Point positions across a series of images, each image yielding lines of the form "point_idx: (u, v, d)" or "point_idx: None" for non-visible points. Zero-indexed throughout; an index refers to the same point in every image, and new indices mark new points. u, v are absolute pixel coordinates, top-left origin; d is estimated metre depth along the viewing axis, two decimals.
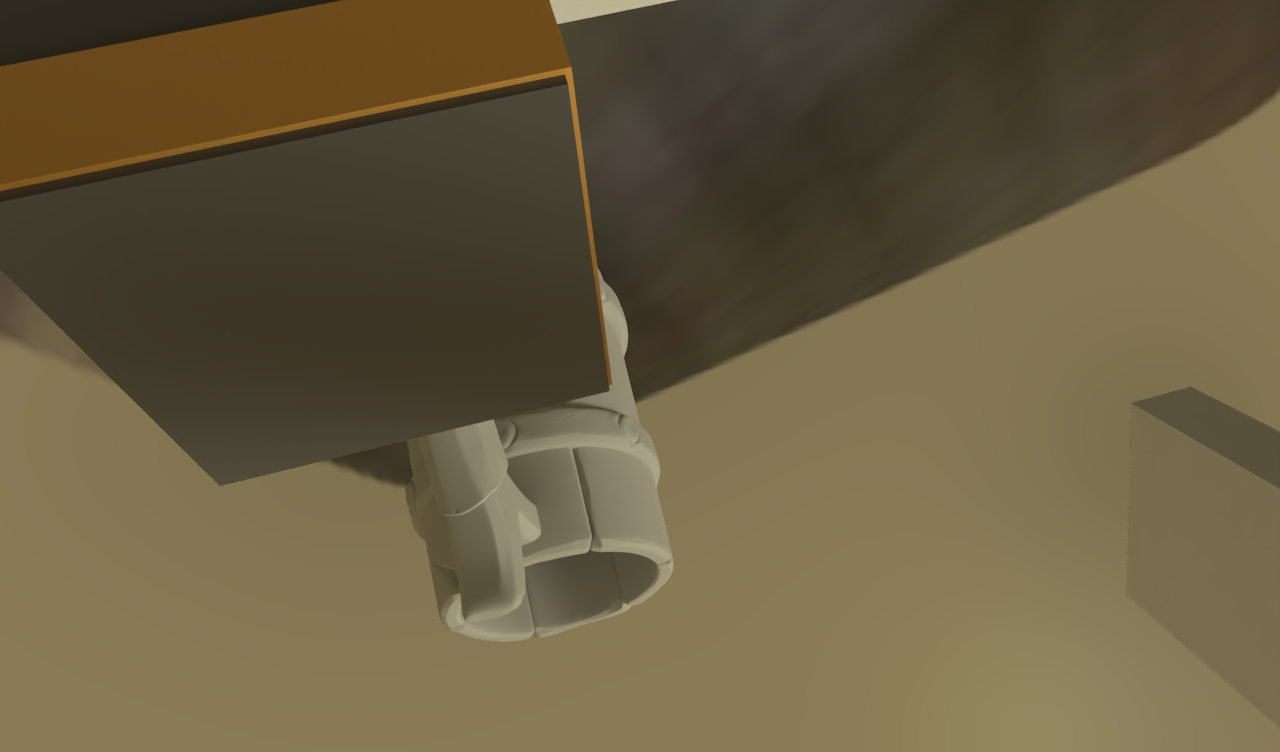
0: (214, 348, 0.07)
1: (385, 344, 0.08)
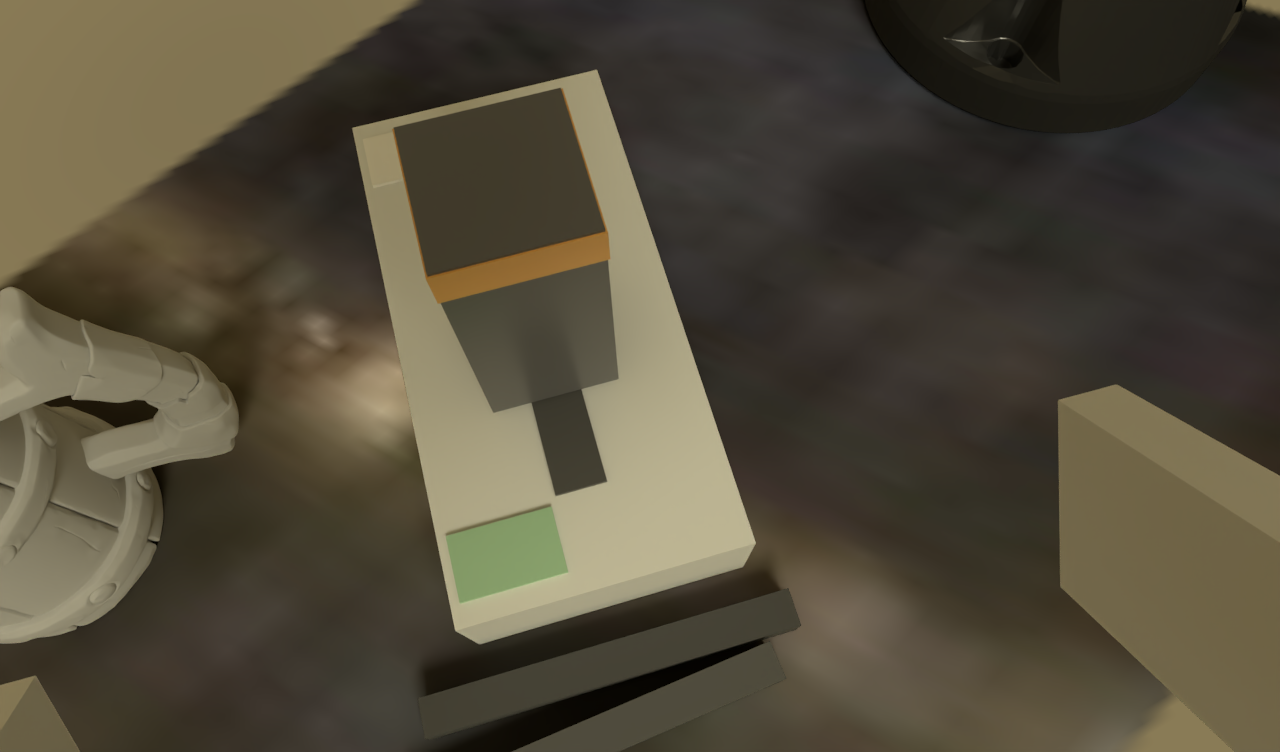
0: (490, 135, 0.21)
1: (482, 185, 0.21)
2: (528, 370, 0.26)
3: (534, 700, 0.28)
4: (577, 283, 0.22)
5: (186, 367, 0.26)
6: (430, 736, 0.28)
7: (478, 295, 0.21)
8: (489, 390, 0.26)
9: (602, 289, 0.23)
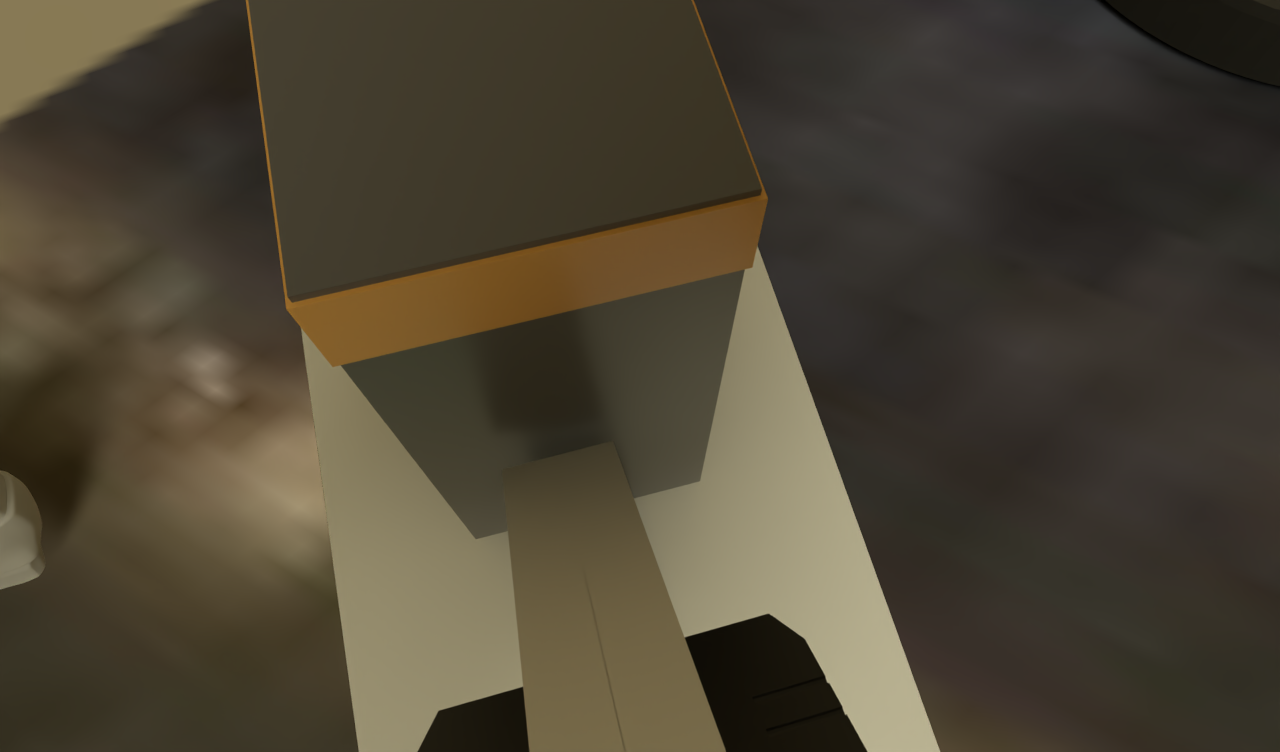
0: None
1: (447, 74, 0.08)
2: None
3: None
4: (666, 322, 0.10)
5: None
6: None
7: (434, 348, 0.09)
8: (467, 510, 0.14)
9: (714, 334, 0.10)
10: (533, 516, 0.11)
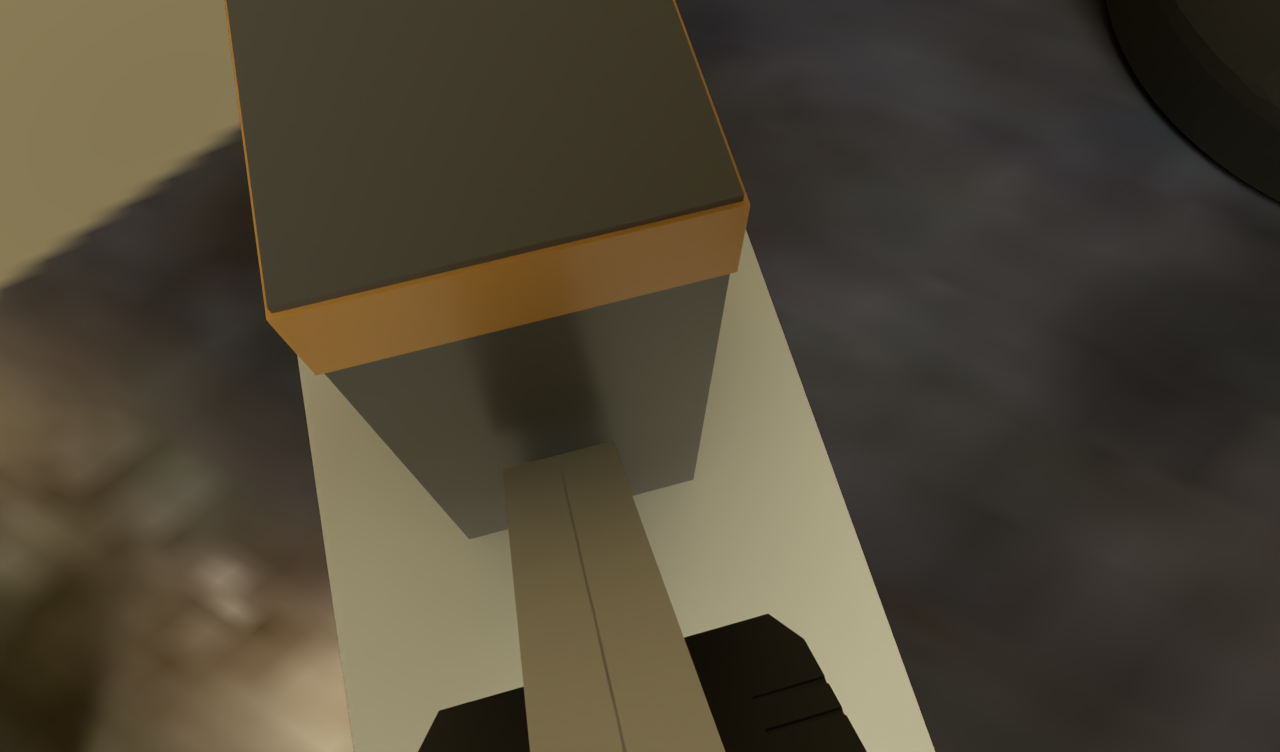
0: None
1: (428, 80, 0.08)
2: None
3: None
4: (652, 325, 0.10)
5: None
6: None
7: (418, 355, 0.09)
8: (459, 511, 0.14)
9: (701, 336, 0.10)
10: (534, 516, 0.11)
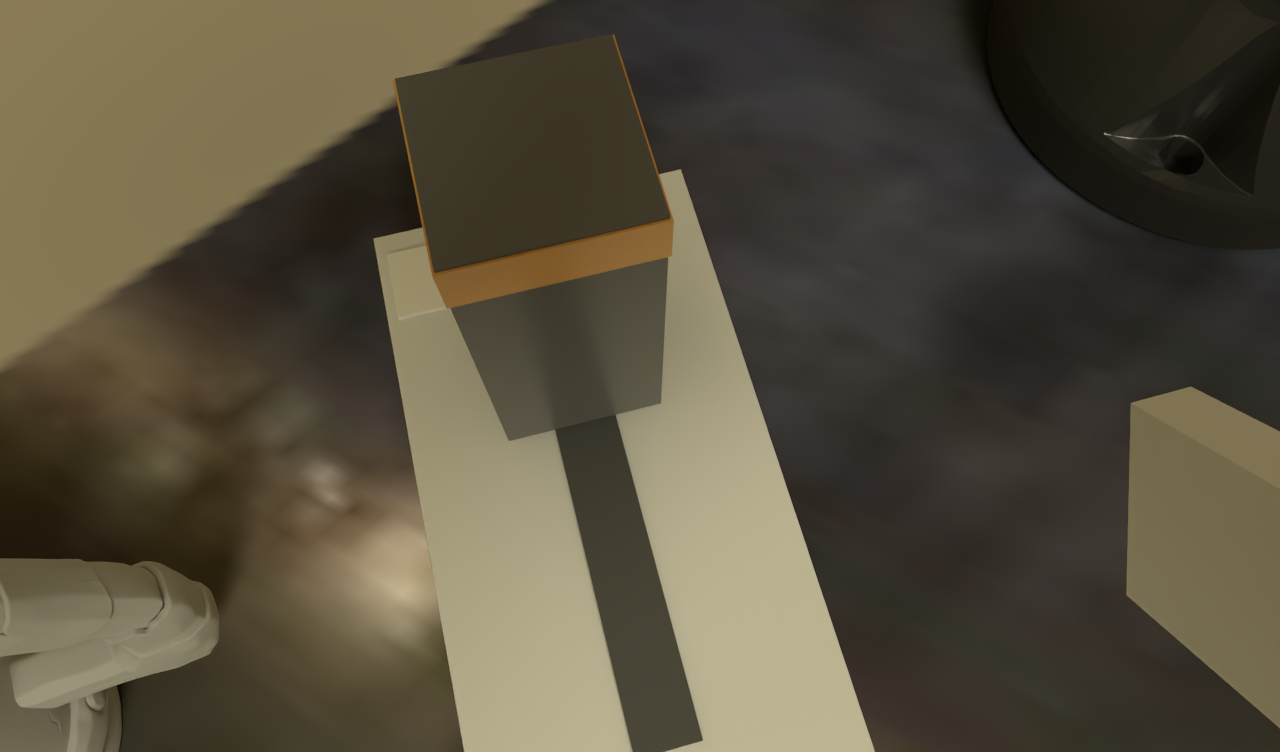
0: (520, 91, 0.16)
1: (509, 154, 0.16)
2: (555, 392, 0.21)
3: None
4: (627, 287, 0.17)
5: (147, 592, 0.19)
6: None
7: (500, 299, 0.16)
8: (506, 415, 0.22)
9: (656, 294, 0.18)
10: None
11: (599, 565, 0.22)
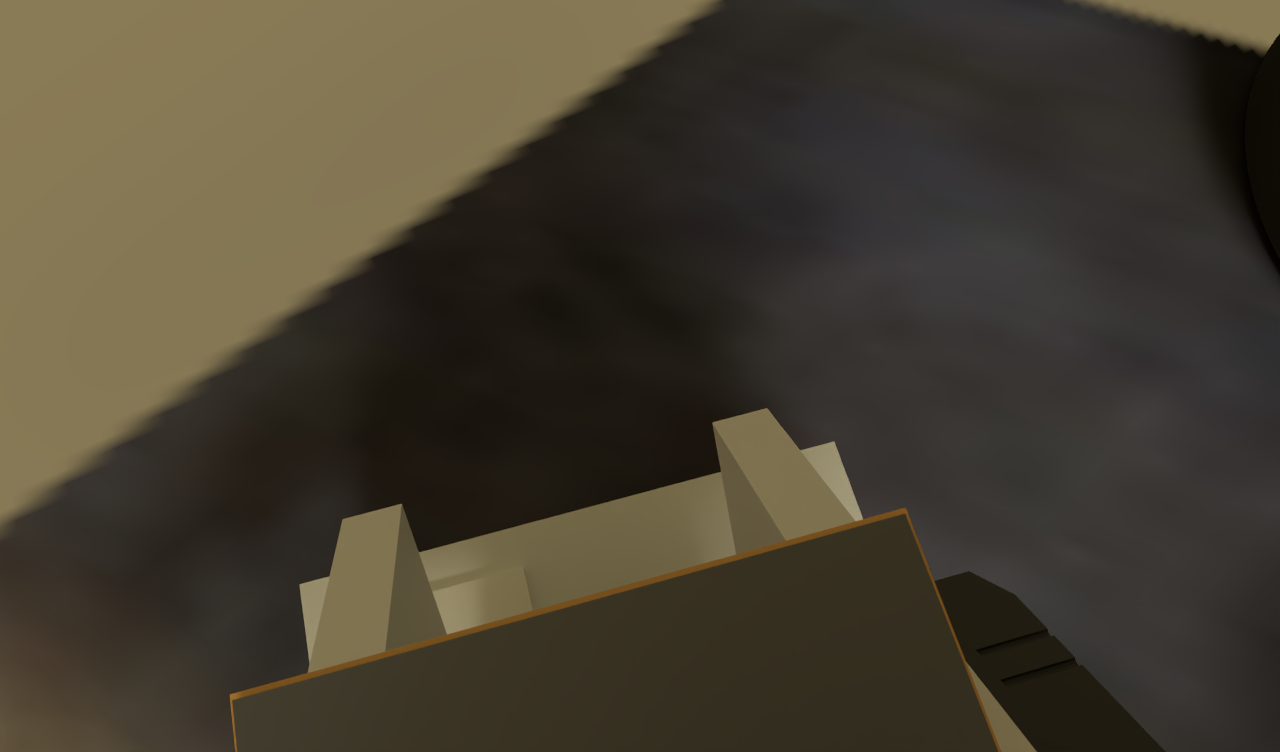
0: None
1: None
2: None
3: None
4: None
5: None
6: None
7: None
8: None
9: None
10: (357, 573, 0.10)
11: None
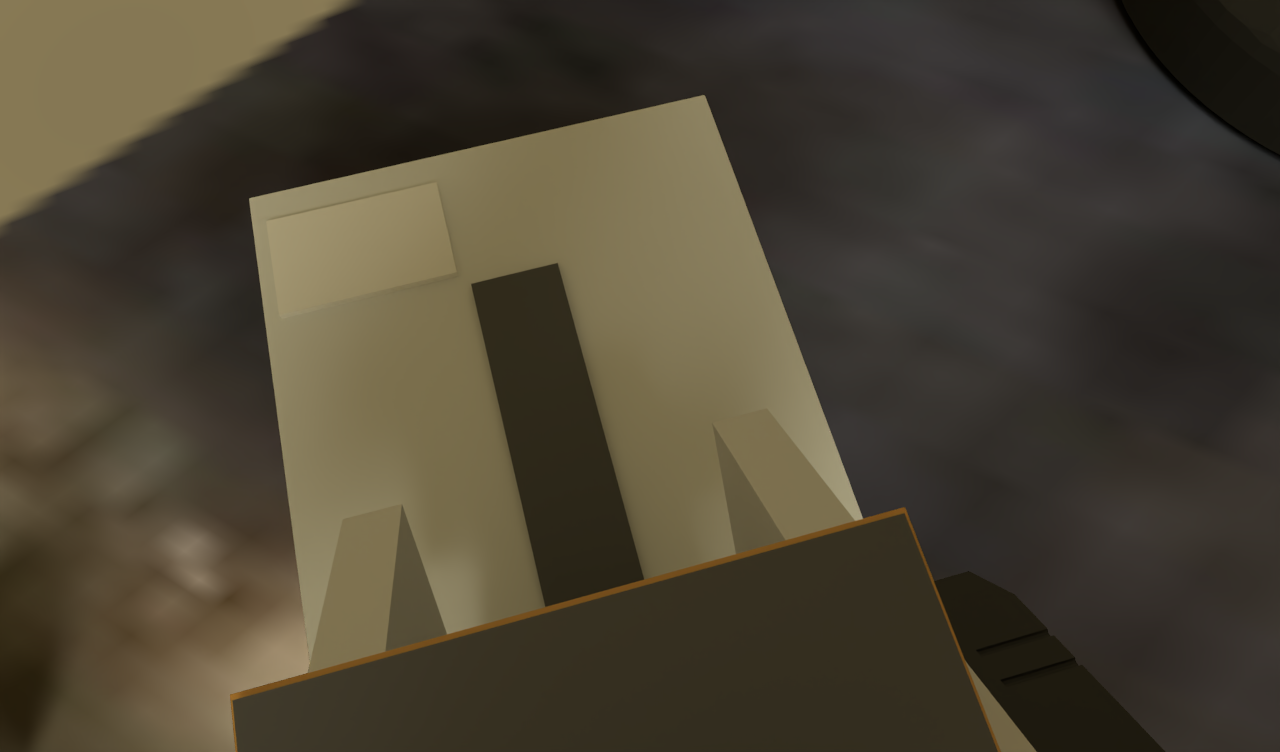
0: (638, 751, 0.05)
1: None
2: None
3: None
4: None
5: None
6: None
7: None
8: None
9: None
10: (358, 573, 0.10)
11: None
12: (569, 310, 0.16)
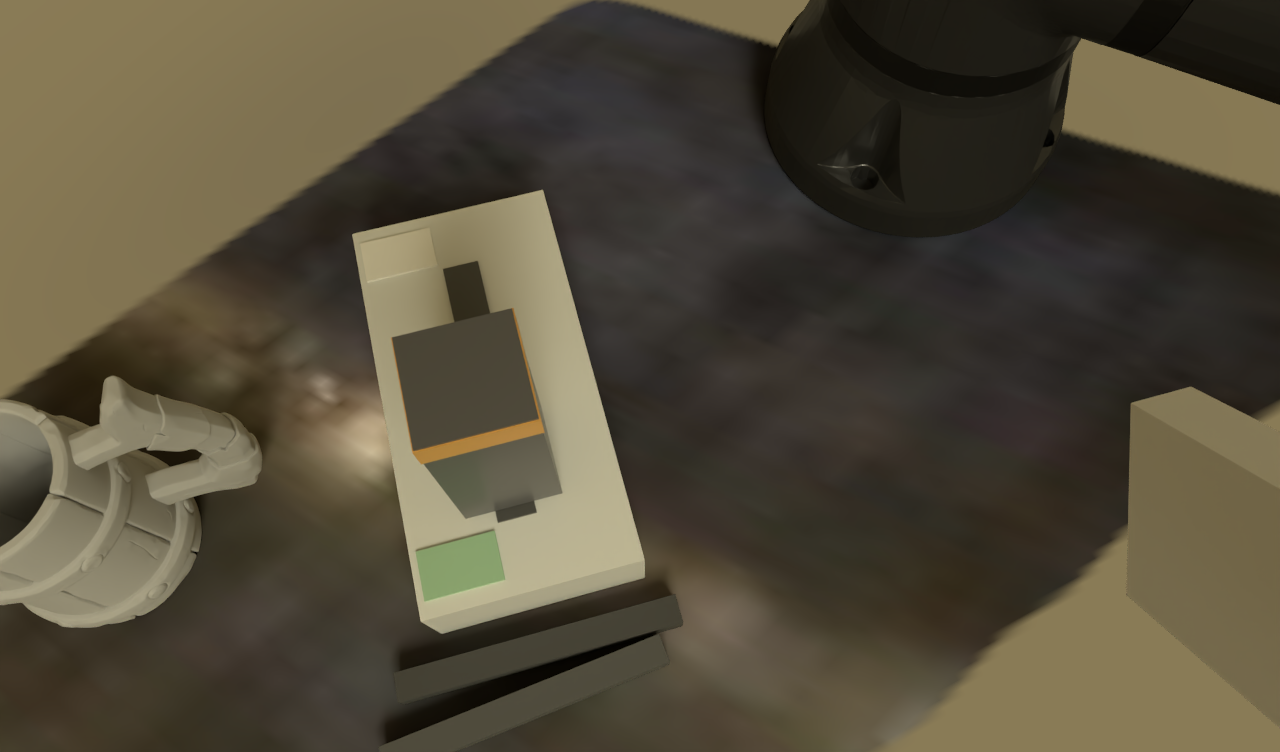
0: (460, 344, 0.30)
1: (453, 383, 0.29)
2: (490, 493, 0.35)
3: (480, 675, 0.37)
4: (522, 445, 0.31)
5: (227, 425, 0.36)
6: (402, 701, 0.37)
7: (450, 457, 0.30)
8: (461, 506, 0.35)
9: (541, 447, 0.31)
10: None
11: None
12: (481, 279, 0.41)
